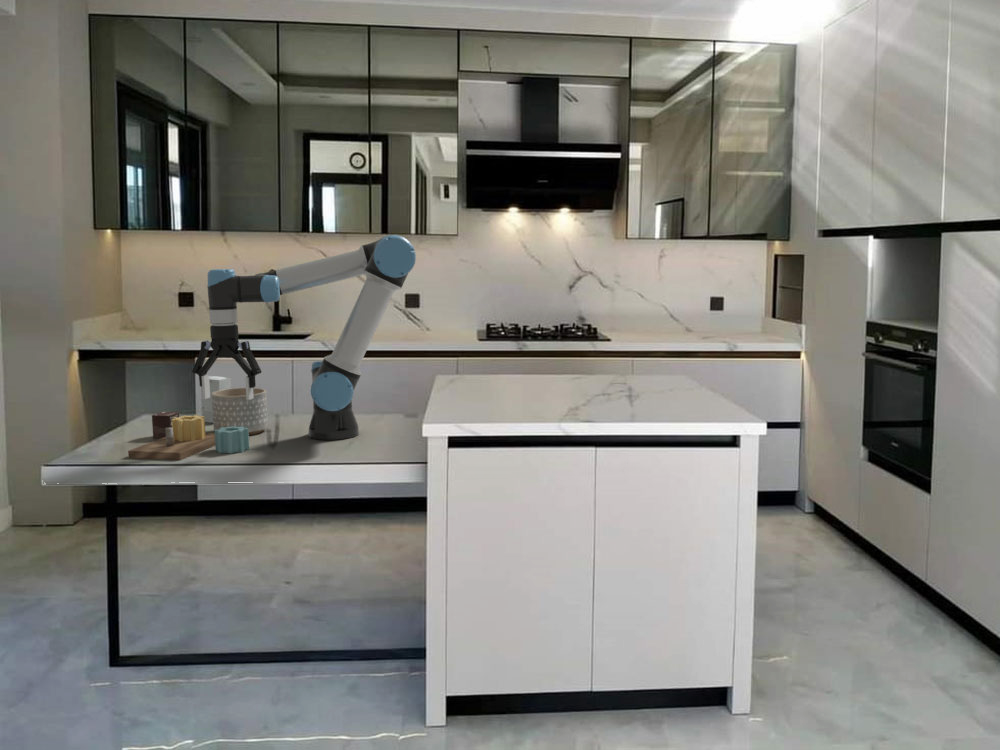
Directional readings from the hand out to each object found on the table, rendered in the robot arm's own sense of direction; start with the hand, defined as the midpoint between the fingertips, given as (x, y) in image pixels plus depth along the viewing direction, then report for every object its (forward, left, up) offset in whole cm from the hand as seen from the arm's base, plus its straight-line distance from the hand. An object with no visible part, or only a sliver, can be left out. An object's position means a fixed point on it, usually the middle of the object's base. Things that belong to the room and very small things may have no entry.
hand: (228, 398), depth 265 cm
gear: (-1, 0, -15) cm, 15 cm away
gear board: (+15, +1, -15) cm, 21 cm away
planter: (+9, -24, -15) cm, 29 cm away
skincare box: (+25, -38, -15) cm, 48 cm away
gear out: (+15, -4, -13) cm, 20 cm away
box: (+28, -13, -15) cm, 35 cm away
